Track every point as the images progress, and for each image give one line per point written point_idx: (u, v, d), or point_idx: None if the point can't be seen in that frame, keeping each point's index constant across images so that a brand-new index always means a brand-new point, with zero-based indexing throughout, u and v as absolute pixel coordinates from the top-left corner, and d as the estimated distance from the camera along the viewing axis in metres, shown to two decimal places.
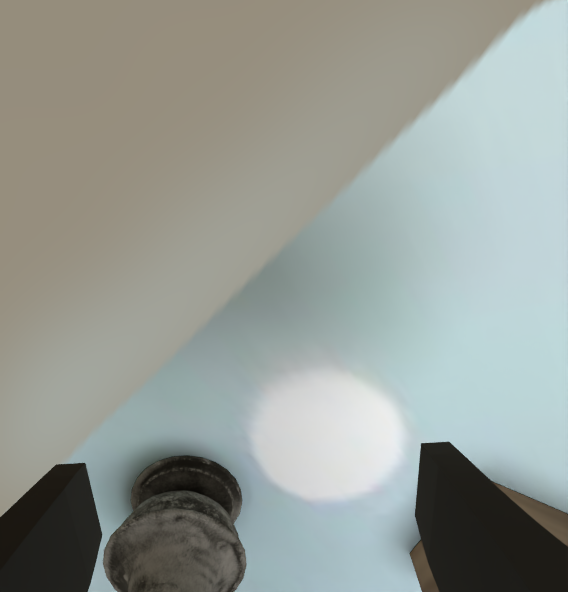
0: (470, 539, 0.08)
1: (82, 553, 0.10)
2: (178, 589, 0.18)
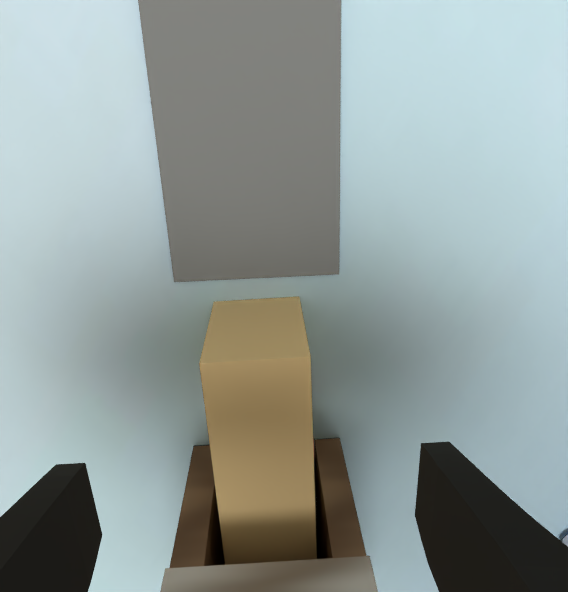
0: (470, 539, 0.08)
1: (82, 553, 0.10)
2: None
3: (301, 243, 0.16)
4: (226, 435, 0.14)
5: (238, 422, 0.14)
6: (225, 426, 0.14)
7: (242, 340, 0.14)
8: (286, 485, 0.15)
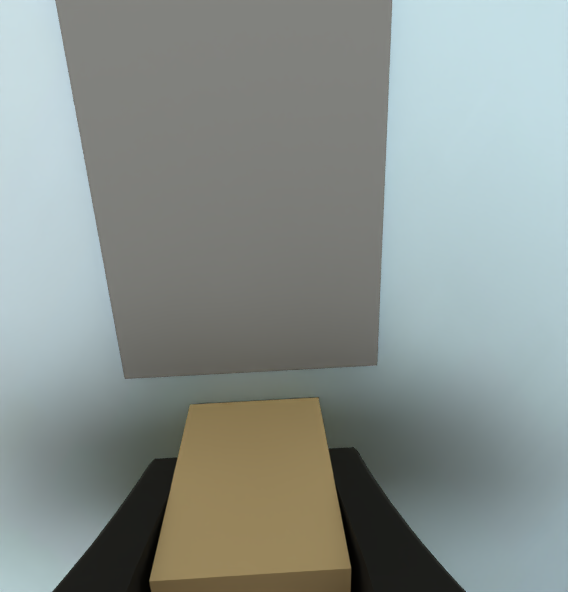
0: (349, 547, 0.08)
1: None
2: None
3: (320, 321, 0.10)
4: None
5: None
6: None
7: (229, 511, 0.08)
8: None
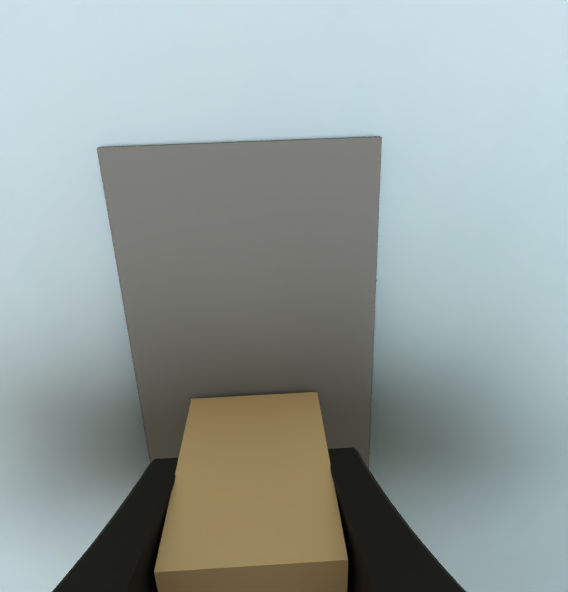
0: (349, 547, 0.08)
1: None
2: None
3: None
4: None
5: None
6: None
7: (230, 504, 0.09)
8: None
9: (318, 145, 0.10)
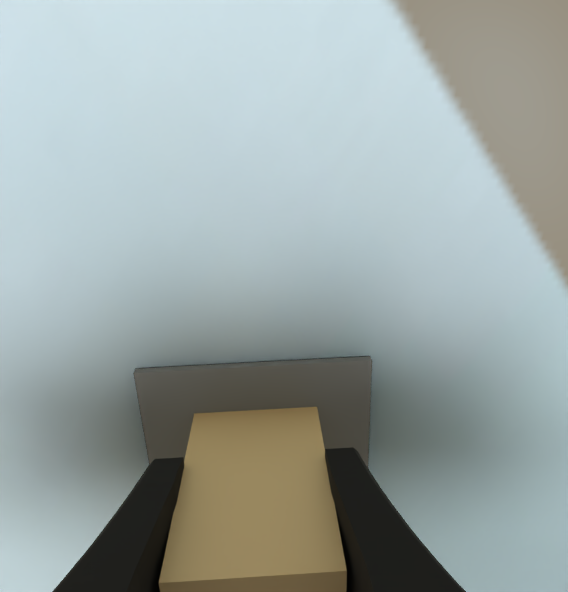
0: (349, 547, 0.08)
1: None
2: None
3: None
4: None
5: None
6: None
7: (232, 517, 0.09)
8: None
9: (318, 368, 0.12)
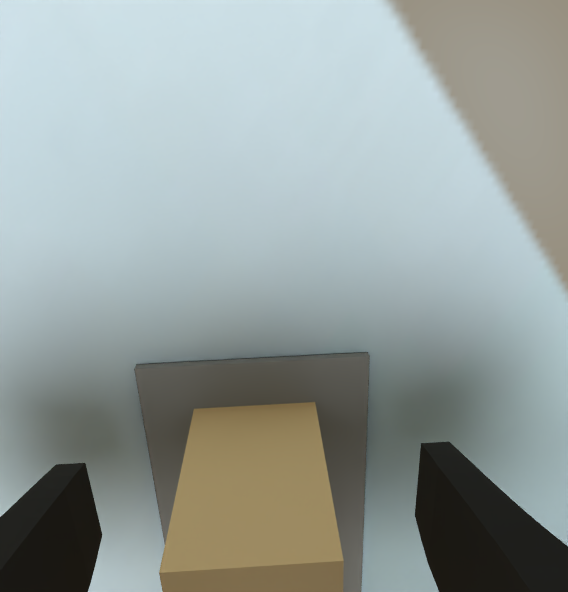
0: (470, 539, 0.08)
1: (82, 553, 0.10)
2: None
3: None
4: None
5: None
6: None
7: (231, 510, 0.09)
8: None
9: (317, 363, 0.12)
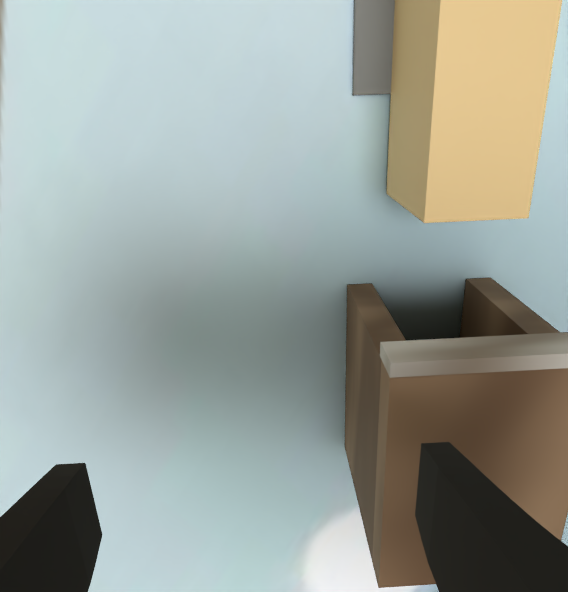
0: (470, 539, 0.08)
1: (82, 553, 0.10)
2: None
3: None
4: None
5: None
6: None
7: None
8: None
9: None
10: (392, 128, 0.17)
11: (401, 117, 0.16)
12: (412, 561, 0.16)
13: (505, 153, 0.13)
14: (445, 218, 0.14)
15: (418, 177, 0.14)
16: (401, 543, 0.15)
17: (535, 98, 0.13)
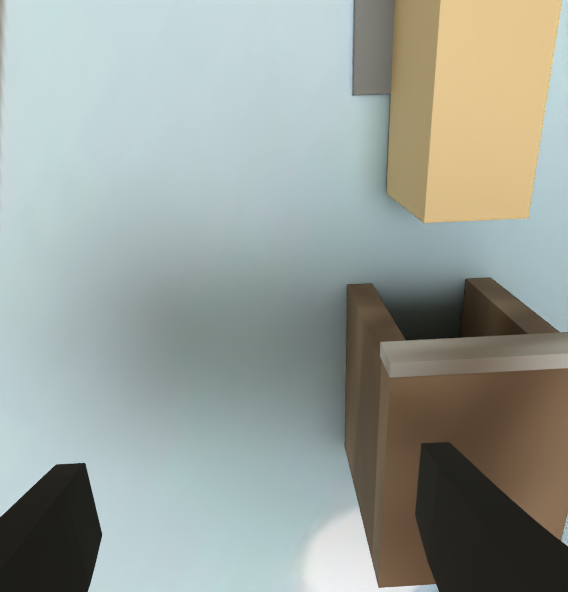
0: (470, 539, 0.08)
1: (82, 553, 0.10)
2: None
3: None
4: None
5: None
6: None
7: None
8: None
9: None
10: (392, 128, 0.17)
11: (401, 117, 0.16)
12: (412, 561, 0.16)
13: (505, 153, 0.13)
14: (445, 218, 0.14)
15: (418, 177, 0.14)
16: (401, 543, 0.15)
17: (535, 98, 0.13)
